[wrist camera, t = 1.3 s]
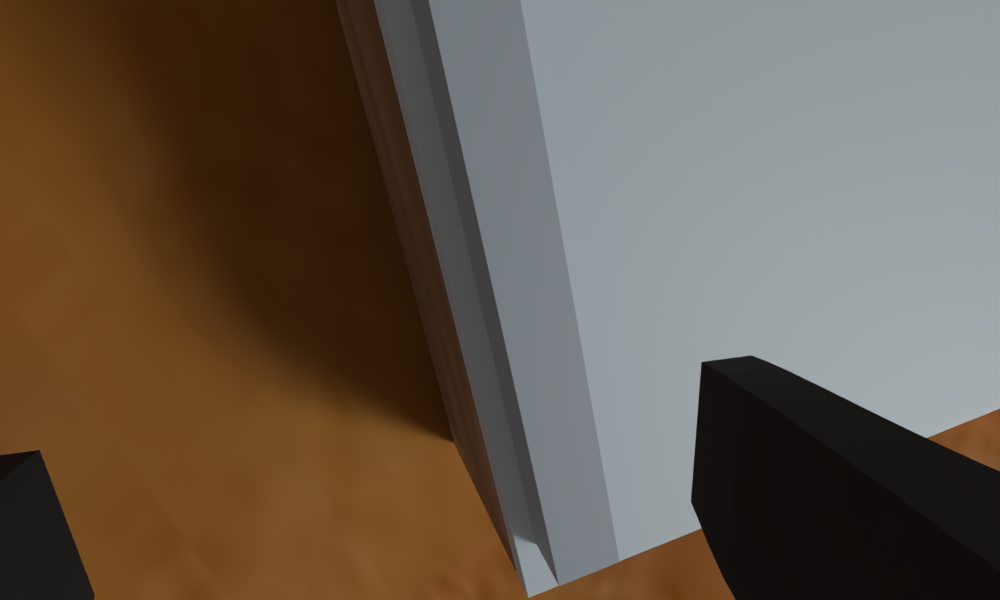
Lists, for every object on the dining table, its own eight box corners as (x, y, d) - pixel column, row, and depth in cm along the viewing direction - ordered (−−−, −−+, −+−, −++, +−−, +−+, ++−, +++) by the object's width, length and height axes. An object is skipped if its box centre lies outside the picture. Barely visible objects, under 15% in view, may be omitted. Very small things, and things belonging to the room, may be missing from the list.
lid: (517, 574, 16) (549, 642, 14) (333, -162, 10) (349, -194, 9) (1034, 370, 19) (1113, 407, 17) (1101, -302, 13) (1228, -347, 11)
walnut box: (454, 444, 21) (515, 571, 16) (305, -111, 15) (332, -161, 11) (874, 296, 23) (1030, 368, 19) (874, -221, 18) (1095, -300, 13)
